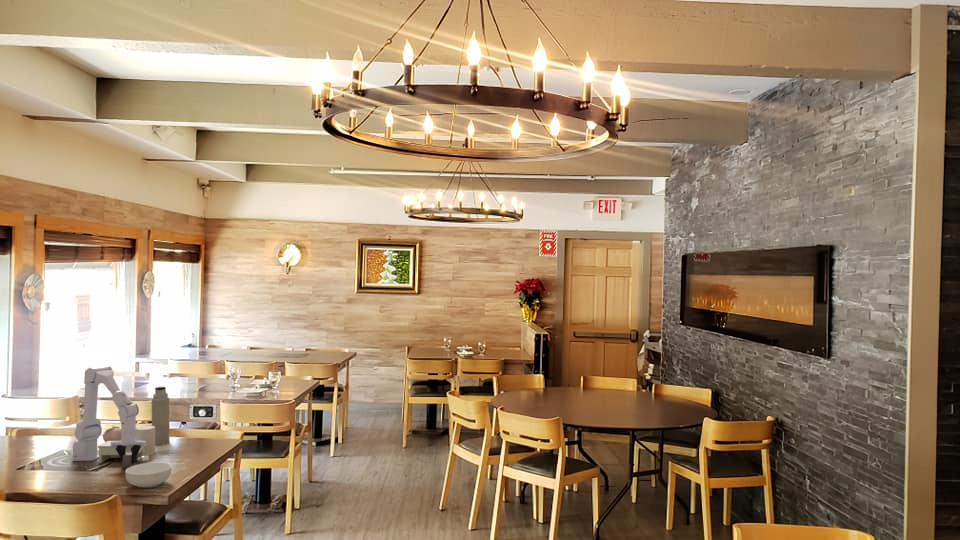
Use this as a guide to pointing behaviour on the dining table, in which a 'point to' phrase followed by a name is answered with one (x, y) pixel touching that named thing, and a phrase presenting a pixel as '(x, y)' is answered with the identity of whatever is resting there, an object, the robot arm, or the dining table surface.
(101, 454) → the pale green rectangular block
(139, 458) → the token
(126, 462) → the dark grey long block
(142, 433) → the beige cylinder
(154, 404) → the thermos bottle
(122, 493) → the dining table surface
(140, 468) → the cereal bowl
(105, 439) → the decorative fruit
